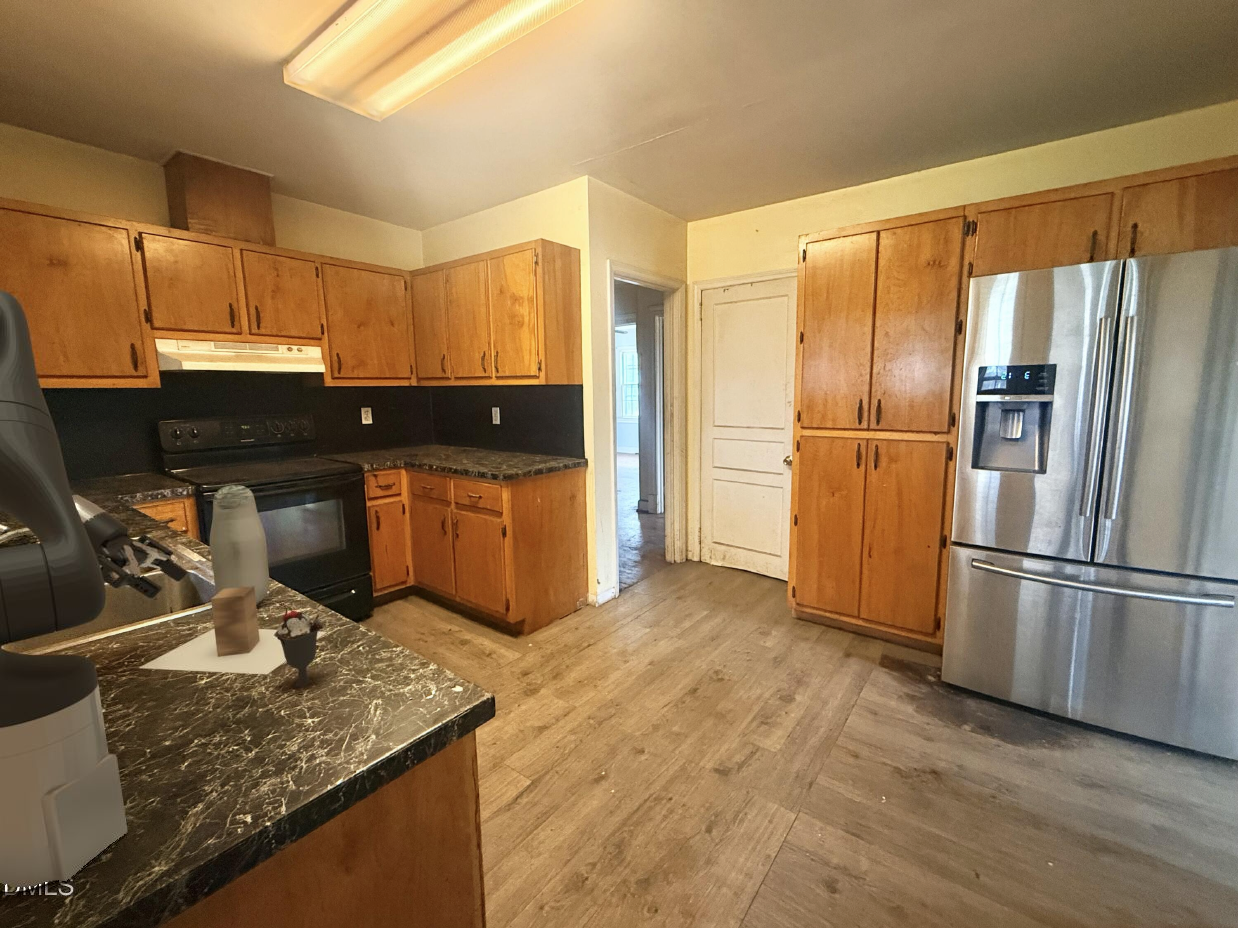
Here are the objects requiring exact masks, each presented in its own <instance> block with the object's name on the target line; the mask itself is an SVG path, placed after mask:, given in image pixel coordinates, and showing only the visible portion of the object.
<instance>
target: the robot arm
mask: <svg viewBox="0 0 1238 928" xmlns="http://www.w3.org/2000/svg"><path fill="white" fill-rule="evenodd" d="M28 324H29V323H28V319H27V317H26V314H25V311H24V308H23V307H22V304H20V302H19V300H18V299H17V298H16V297H15V296H14V295H13V294H11V293H10V292H8V291H6V290H2V289H0V511H2V512H4V513H5V514H8V515H9V516H11V517H12V518H14V519H15V520H17V521H18V522H20V523H21V524H22V525H23V526H25V527H26V528H27V529H28V530H29V531H30V532H31V533H32V534H33V535H34V536H35V537H36V539H37V540H38V541H39V543H38V542H34V543H29V544H22V545H15V546H8V547H2V548H0V883H2V884H4V885H6V884H7V886H8V885H9V886H10V887H14V888H15V887H21V888H22V887H25V888H26V886H27V887H29V886H36V885H38V884H42V883H44V882H49V881H53V880H59V881H66V882H68V881H69V880H71V879H72V878H73V877H74V876H75V875H77V874H78V873H79V872H80V871H81V870H82V869H81V868H83V866H84V865H86V864H87V863H88V862H89V861H90V860H92V859H93V858H94V857H96V856H97V855H98V854H99V853H100V852H101V851H103V850H104V849H106V848H107V847H108V846H109V845H110V844H112V843H113V842H115V841H116V840H117V839H118V840H120V839H121V838H122V837H123V836H125V835H126V834H127V833H128V825H127V819H126V813H125V812H126V810H125V806H124V799H123V791H122V785H121V779H120V778H121V777H120V772H119V764H118V757H117V755H116V754H114V753H109V749H108V748H109V747H108V741H107V736H106V727H105V721H104V714H103V707H102V701H101V694H100V687H99V680H98V679H99V678H98V673H97V668H96V664H95V663H94V661H93V660H92V659H90V658H89V657H87V656H84V655H78V654H26V653H20V652H19V653H18V652H14V651H11V650H6V649H4V648H2V647H3V646H5V645H9V644H14V643H17V642H21V641H25V640H29V639H34V638H37V637H40V636H42V637H43V636H45V635H49V634H53V633H55V632H62V631H64V630H68V629H72V628H76V627H79V626H82V625H85V624H88V623H91V622H93V621H95V620H97V618H99V617H100V615H101V614H102V613H103V611H104V608H105V605H106V600H107V597H106V596H107V594H106V593H107V591H106V584H105V583H107V584H108V585H110V586H111V587H112V588H114V589H120V588H121V587H126V588H129V587H131V588H132V589H134V590H136V591H138V592H139V593H141V594H142V595H144V596H146V597H147V598H148V599H154V598H155V597H156V596H158V595H159V594H160V593H161V591H163V587H162V586H161V585H159V584H158V583H156V582H155V581H153V580H151V579H150V578H148V577H146V576H145V574H144V575H142V573H141V572H140V570H139V568H138V567H141V568H148V567H150V568H154V569H158V570H159V571H160V572H162V573H163V574H165V575H166V576H167V577H170V578H171V579H172V580H174V581H175V582H180V581H182V580H183V579H184V578H185V577H186V576H187V575H188V574H189V572H188V570H186V569H185V568H183V567H182V566H180V565H179V564H178V563H176V562H174V561H173V560H172V556H173V555H174V552H173V551H172V550H171V549H169V548H168V547H166V546H164V545H163V544H161V543H160V542H158V541H156V540H155V539H153V538H152V537H150V536H149V535H147V534H141V535H140V536H139V537H138V538H137V539H134V538H131V537H130V536H128V533H129V530H130V528H129V526H128V525H127V524H125V522H122V521H121V520H119V519H118V518H116V517H114V516H113V515H112V514H110V513H109V512H107V511H106V510H104V509H102V507H100V506H98V505H96V504H95V503H93V502H92V501H90V500H88V499H86V498H84V497H82V496H80V495H78V493H75V492H74V491H72V490H71V488H70V487H71V486H70V484H69V483H70V482H69V479H68V475H67V470H66V466H65V462H64V457H63V454H62V453H63V452H62V449H61V444H60V440H59V438H58V432H57V430H56V427H55V423H54V421H53V418H52V416H51V412H50V410H49V407H48V405H47V402H46V399H45V396H44V393H43V390H42V387H41V383H40V380H39V377H38V374H37V369H36V362H35V356H34V352H33V345H32V337H31V333H30V328H29V325H28ZM159 551H160V552H159ZM161 552H162V553H161ZM112 574H113V576H114V577H112ZM115 578H116V579H115ZM124 834H125V835H124ZM120 837H121V838H120ZM119 838H120V839H119ZM118 840H117V841H118ZM117 841H116V842H117ZM116 842H115V843H116ZM113 844H114V843H113ZM113 844H112V845H113ZM107 849H108V848H107ZM107 849H106V850H107ZM97 857H98V856H97ZM97 857H96V858H97ZM86 866H87V865H86ZM83 869H84V868H83ZM79 870H80V871H79ZM78 871H79V872H78ZM77 872H78V873H77ZM76 873H77V874H76ZM73 875H74V876H73ZM72 876H73V877H72ZM71 877H72V878H71ZM68 879H69V880H68ZM67 880H68V881H67Z"/></svg>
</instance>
